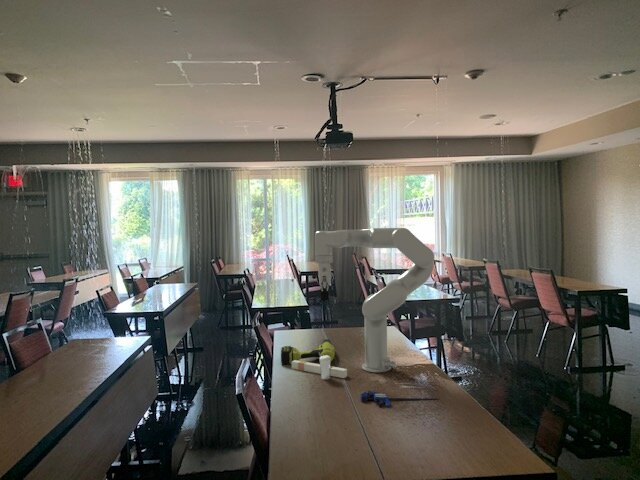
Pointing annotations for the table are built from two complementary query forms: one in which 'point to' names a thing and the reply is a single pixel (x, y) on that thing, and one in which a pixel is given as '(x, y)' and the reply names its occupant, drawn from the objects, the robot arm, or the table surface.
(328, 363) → the milkshake
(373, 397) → the bar clamp
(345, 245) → the robot arm
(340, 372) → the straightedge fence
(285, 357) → the cordless drill
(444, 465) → the table surface
